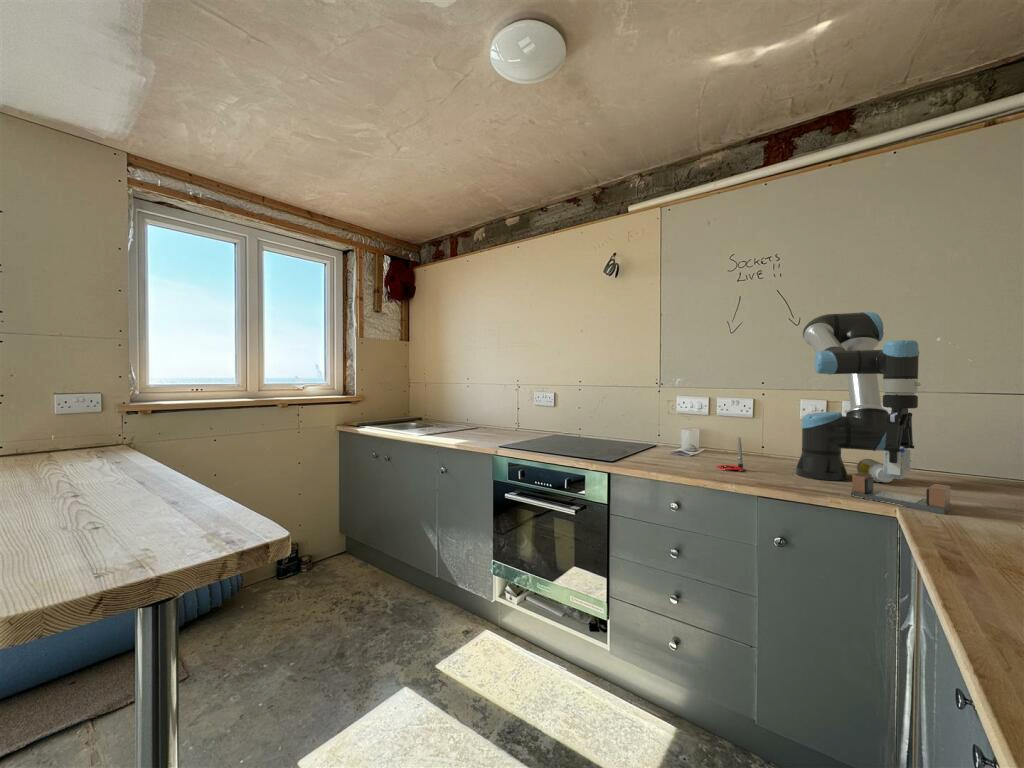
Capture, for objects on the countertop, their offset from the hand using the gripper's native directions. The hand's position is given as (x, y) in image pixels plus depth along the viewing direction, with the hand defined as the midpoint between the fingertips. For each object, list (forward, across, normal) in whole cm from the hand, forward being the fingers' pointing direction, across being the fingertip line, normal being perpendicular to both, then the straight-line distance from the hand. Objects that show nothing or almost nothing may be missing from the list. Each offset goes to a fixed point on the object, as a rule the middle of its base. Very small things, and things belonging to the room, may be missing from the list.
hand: (898, 472), depth 122 cm
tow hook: (+9, +3, +51) cm, 52 cm away
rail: (+9, 0, 0) cm, 9 cm away
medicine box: (+2, 0, +1) cm, 2 cm away
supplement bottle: (+5, +32, +16) cm, 36 cm away
